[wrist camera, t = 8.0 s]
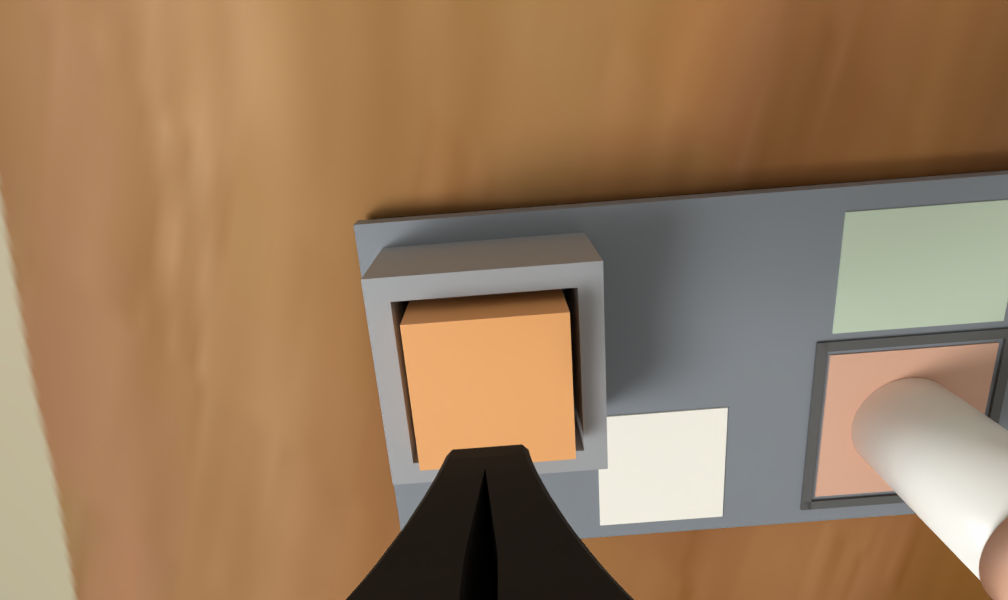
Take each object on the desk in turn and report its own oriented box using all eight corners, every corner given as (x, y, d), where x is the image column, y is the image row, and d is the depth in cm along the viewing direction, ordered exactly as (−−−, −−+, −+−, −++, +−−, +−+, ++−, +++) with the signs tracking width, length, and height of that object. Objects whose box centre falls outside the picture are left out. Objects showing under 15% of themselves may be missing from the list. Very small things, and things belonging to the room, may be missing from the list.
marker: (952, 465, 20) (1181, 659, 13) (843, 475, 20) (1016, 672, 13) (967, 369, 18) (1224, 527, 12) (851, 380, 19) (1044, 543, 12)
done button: (564, 410, 17) (576, 459, 15) (429, 420, 17) (420, 470, 15) (558, 280, 16) (570, 312, 14) (413, 291, 16) (399, 325, 14)
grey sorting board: (1025, 493, 21) (1129, 572, 17) (406, 538, 21) (390, 626, 18) (1103, 162, 17) (1253, 180, 14) (358, 220, 17) (325, 252, 14)
